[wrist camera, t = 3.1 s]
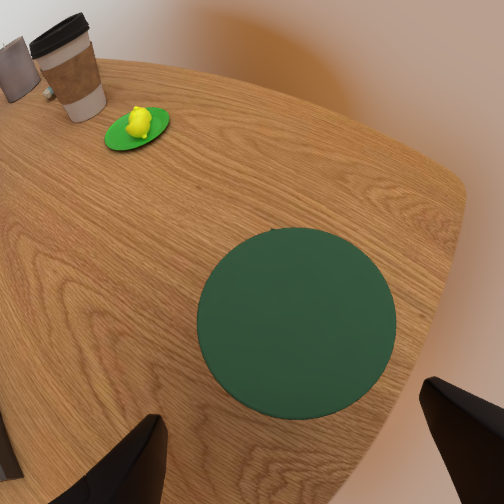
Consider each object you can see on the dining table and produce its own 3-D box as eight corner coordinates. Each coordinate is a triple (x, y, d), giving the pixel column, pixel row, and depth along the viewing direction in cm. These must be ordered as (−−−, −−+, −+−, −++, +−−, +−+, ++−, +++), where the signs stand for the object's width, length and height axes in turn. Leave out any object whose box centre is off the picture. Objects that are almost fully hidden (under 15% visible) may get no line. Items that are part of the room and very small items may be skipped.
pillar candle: (10, 95, 47) (-11, 52, 33) (41, 74, 49) (22, 29, 36) (7, 108, 42) (-18, 60, 29) (41, 84, 45) (19, 34, 32)
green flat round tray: (182, 128, 30) (177, 108, 28) (119, 165, 28) (109, 145, 25) (153, 104, 33) (148, 86, 31) (99, 134, 31) (91, 118, 29)
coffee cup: (124, 101, 35) (94, 9, 21) (74, 135, 32) (30, 44, 19) (101, 89, 38) (74, 12, 24) (58, 119, 35) (22, 43, 22)
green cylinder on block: (309, 415, 17) (383, 433, 6) (227, 396, 17) (165, 385, 6) (339, 267, 21) (396, 133, 10) (268, 252, 22) (269, 107, 11)
